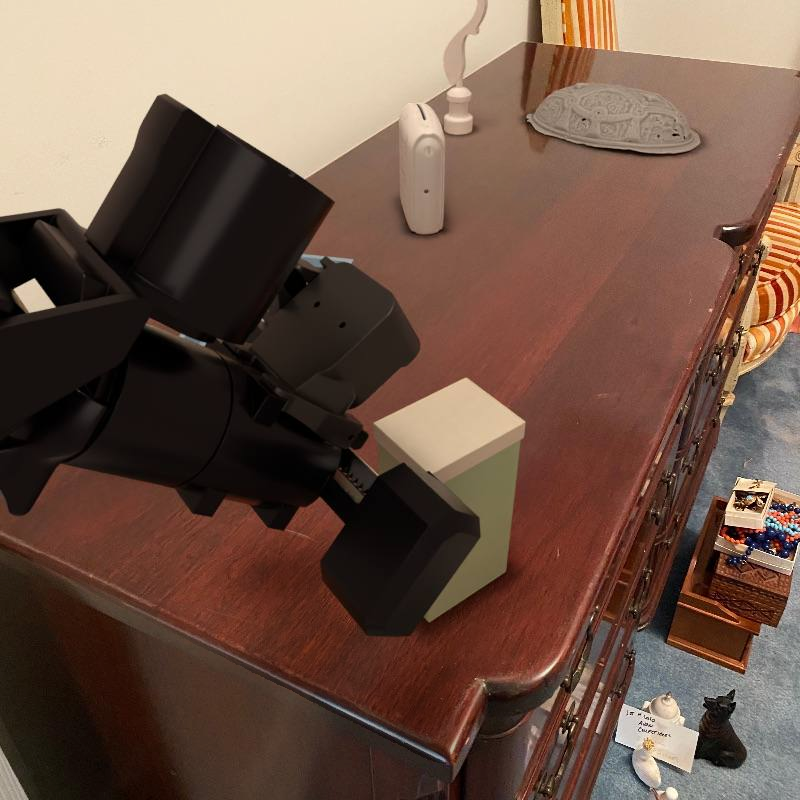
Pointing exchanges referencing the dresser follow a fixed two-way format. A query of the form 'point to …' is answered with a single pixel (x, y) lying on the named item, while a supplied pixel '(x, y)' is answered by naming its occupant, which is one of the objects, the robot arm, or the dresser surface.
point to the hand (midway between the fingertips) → (410, 485)
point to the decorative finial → (460, 75)
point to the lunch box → (462, 470)
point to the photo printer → (422, 168)
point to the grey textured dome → (614, 119)
